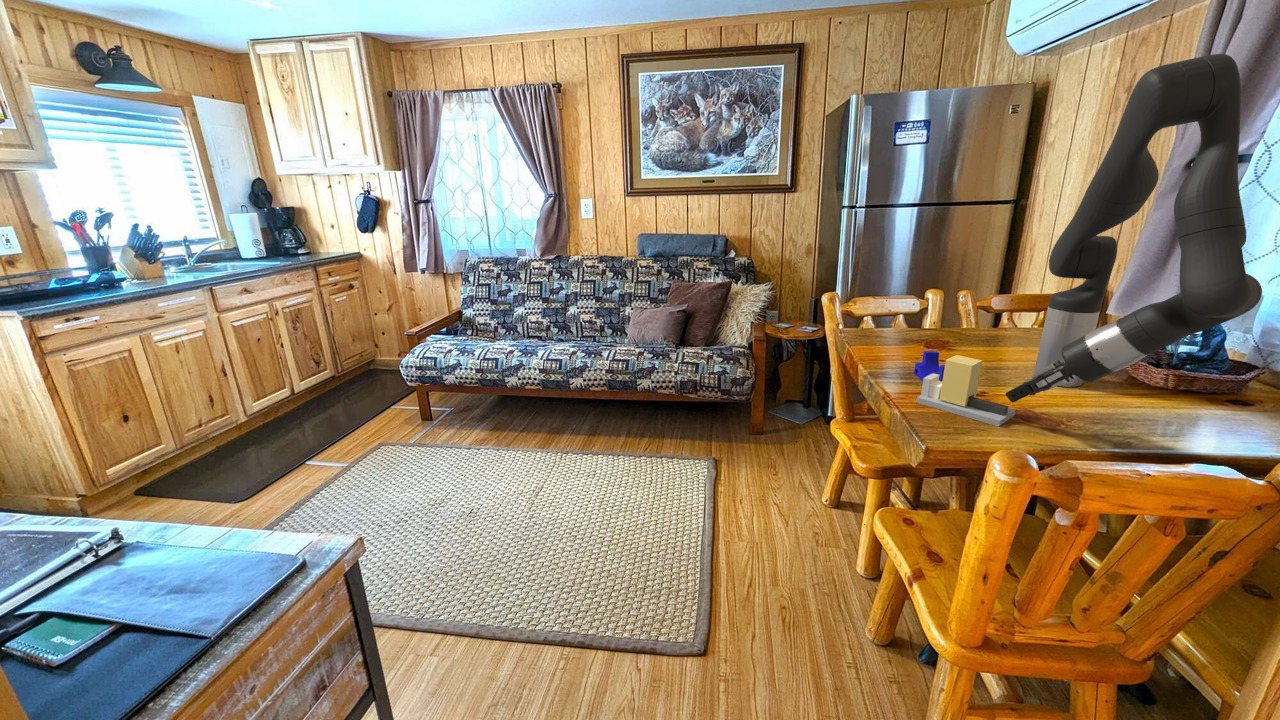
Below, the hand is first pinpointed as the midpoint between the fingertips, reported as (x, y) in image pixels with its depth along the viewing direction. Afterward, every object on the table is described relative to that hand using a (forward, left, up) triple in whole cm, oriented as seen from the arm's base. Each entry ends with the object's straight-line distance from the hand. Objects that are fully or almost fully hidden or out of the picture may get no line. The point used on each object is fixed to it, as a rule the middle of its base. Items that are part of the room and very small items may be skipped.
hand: (1009, 397), depth 106 cm
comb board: (0, -8, -5) cm, 9 cm away
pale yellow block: (0, -9, -3) cm, 10 cm away
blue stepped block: (-11, -19, -5) cm, 23 cm away
